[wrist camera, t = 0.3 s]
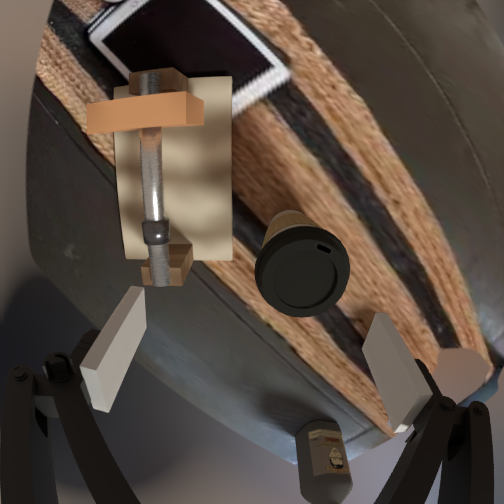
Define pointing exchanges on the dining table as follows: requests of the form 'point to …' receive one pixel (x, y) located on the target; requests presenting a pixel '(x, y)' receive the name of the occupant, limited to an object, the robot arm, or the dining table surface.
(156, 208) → the pipe
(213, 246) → the wooden rod stand
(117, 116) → the orange square ring
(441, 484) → the robot arm
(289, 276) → the coffee cup
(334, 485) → the liquor
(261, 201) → the dining table surface
